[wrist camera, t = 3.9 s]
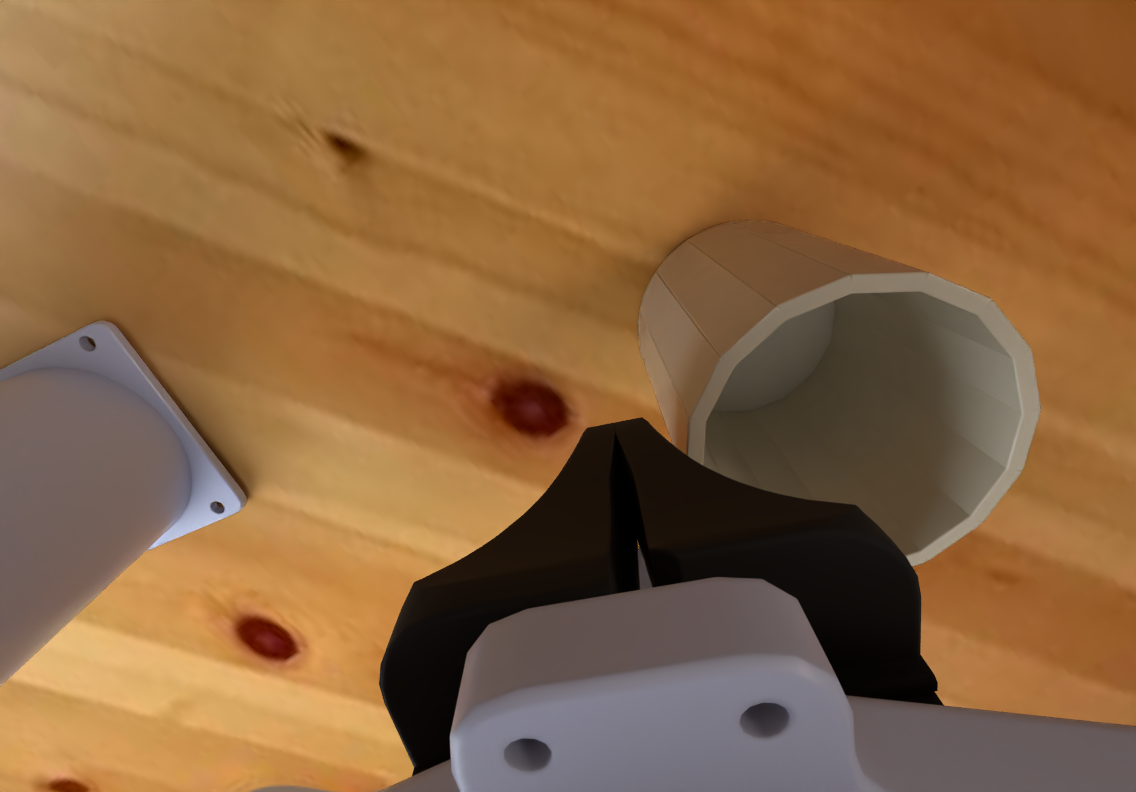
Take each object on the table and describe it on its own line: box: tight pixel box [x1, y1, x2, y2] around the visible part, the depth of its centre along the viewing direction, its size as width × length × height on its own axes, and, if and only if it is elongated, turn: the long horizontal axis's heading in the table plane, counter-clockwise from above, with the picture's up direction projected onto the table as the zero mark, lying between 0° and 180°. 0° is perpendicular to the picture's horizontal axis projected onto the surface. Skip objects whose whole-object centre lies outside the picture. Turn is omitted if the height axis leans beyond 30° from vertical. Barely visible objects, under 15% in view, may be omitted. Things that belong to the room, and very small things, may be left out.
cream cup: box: [638, 220, 1041, 567], centre depth 16 cm, size 7×7×9 cm
